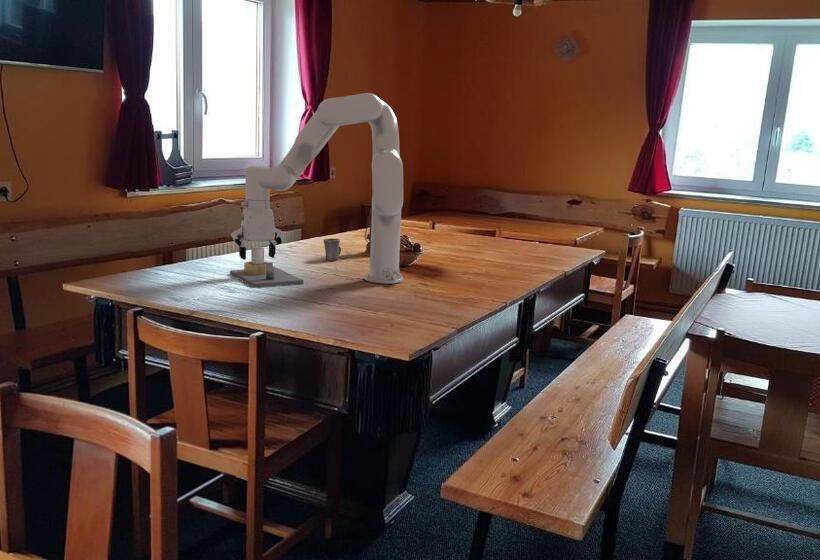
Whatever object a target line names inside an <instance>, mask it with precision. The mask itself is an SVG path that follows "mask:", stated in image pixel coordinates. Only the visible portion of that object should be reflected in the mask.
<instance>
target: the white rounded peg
mask: <svg viewBox="0 0 820 560" xmlns="http://www.w3.org/2000/svg"><path fill="white" fill-rule="evenodd" d="M250 249H251V250H250V251H251V255H250V256H251V258H250V259H251V265H264V262H265V248H264V247H263V246H253V247H251V248H250Z"/></svg>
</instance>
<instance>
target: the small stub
mask: <svg viewBox="0 0 820 560" xmlns="http://www.w3.org/2000/svg"><path fill="white" fill-rule="evenodd" d="M268 262H269V261H268ZM275 264H276V263H275V262H272V261H271V262H269V263H266V279H267V280H274V277H275V267H276V266H275Z"/></svg>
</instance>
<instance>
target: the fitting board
mask: <svg viewBox="0 0 820 560" xmlns="http://www.w3.org/2000/svg"><path fill="white" fill-rule="evenodd" d="M229 275H231V276H233V277H235V278H236V277H237V279H238V278H239V279H238V280H240V279H241V280H240V281H242V280H243V281H242V282H244V283H245V282H246V284H247V283H248V284H247V285H249V284H250V285H249V286H251V285H252V286H251V287H253V286H254V287H257V288H264V287H263V286H269V287H277V286H276V285H282V286H290V284H295V285H303V284H304V279H302V278H300V277H298V276H295V275H293V274H291V273H289V272H287V271H285V270H282V269H280V268H278V267H276V266H275V277H274V280H267V279H266V274H265V275H250V274H246V273H244V269H233V270H229ZM261 286H262V287H261ZM254 287H253V288H254Z"/></svg>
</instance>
